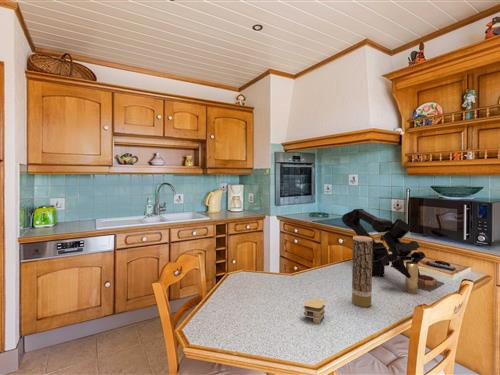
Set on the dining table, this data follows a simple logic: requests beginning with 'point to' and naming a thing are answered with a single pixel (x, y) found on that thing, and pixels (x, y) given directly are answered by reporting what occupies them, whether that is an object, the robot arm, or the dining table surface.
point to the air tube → (412, 278)
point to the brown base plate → (428, 283)
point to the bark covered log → (362, 271)
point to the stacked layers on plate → (314, 309)
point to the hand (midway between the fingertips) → (414, 277)
